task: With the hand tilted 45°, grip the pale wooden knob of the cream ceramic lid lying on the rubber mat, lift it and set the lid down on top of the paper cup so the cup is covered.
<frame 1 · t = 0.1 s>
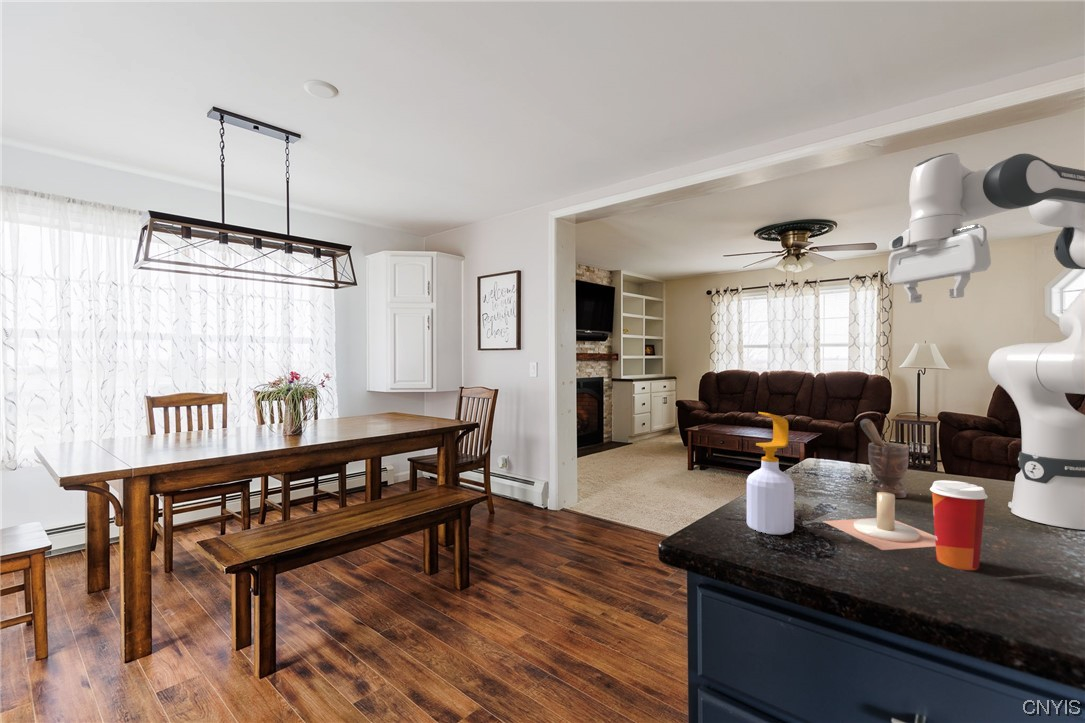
hand: (935, 300, 104), 48 cm above the counter, tool pointing down, fingers open, 8 cm apart
mortar and pestle: (884, 496, 128), on the counter
mat: (885, 534, 101), on the counter
soap bottle: (769, 528, 105), on the counter
paper cup: (956, 566, 86), on the counter
lid: (885, 532, 101), resting on mat
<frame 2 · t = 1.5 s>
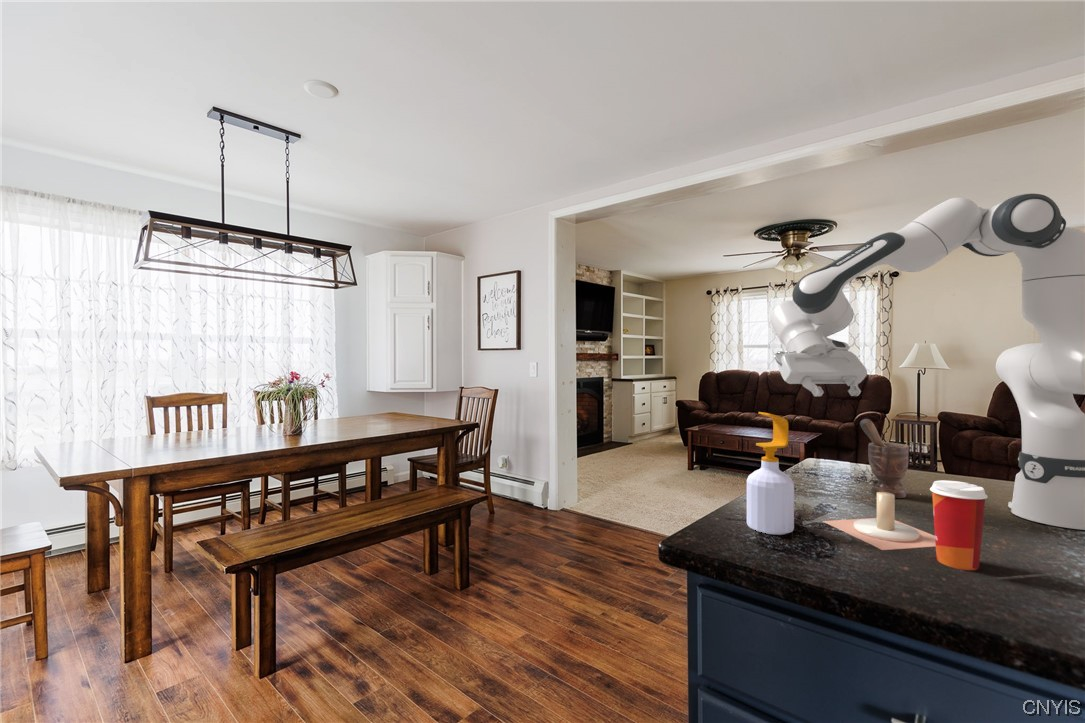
hand: (838, 394, 113), 27 cm above the counter, tool tilted 45°, fingers open, 8 cm apart
nothing on the counter moved.
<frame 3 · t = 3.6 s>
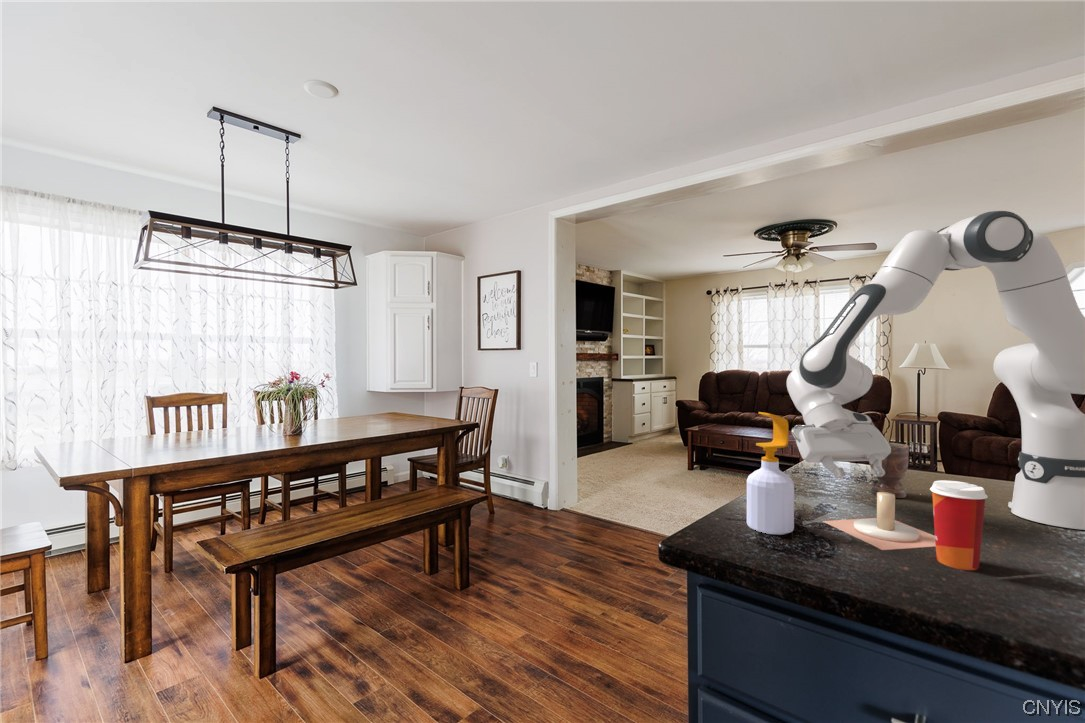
hand: (861, 476, 107), 10 cm above the counter, tool tilted 45°, fingers open, 8 cm apart
nothing on the counter moved.
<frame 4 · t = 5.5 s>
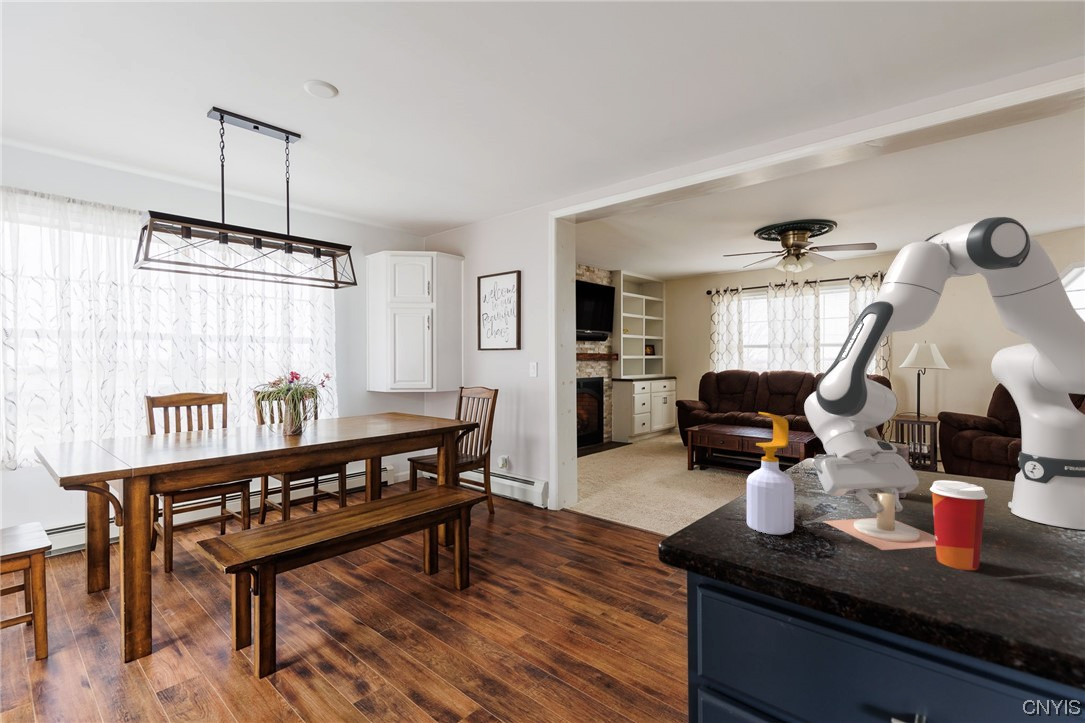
hand: (888, 511, 100), 5 cm above the counter, tool tilted 45°, fingers closed on lid, 3 cm apart
lid: (885, 532, 101), resting on mat, touching gripper
everything else where it was.
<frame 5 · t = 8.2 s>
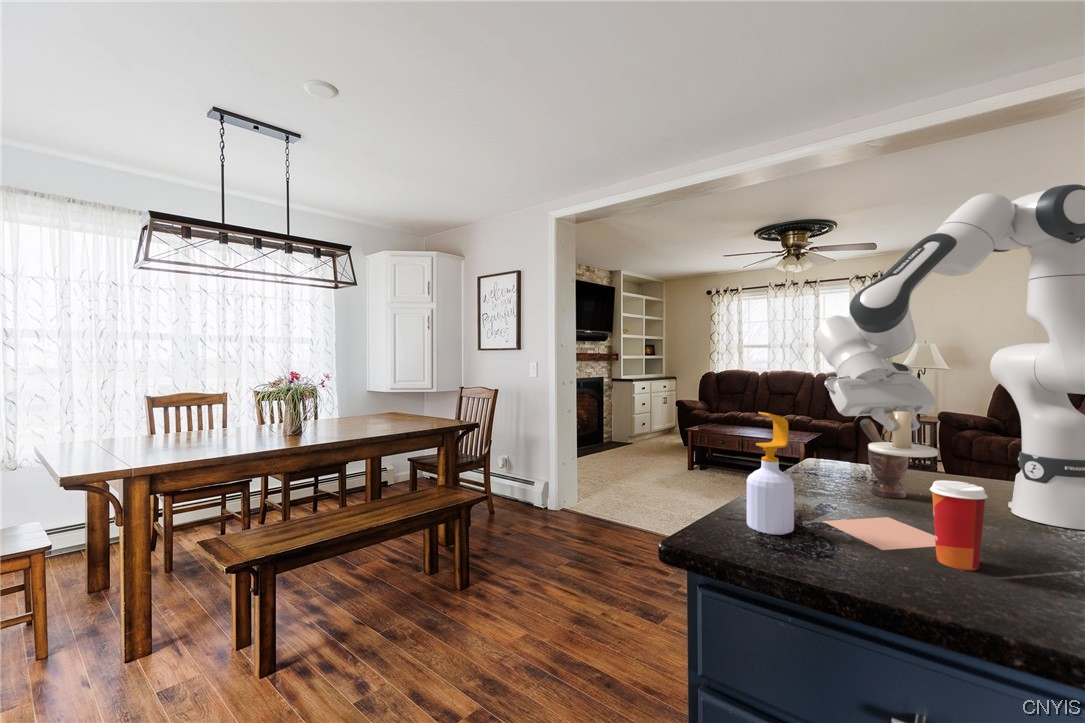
hand: (904, 429, 96), 22 cm above the counter, tool tilted 45°, fingers closed on lid, 3 cm apart
lid: (901, 451, 97), point 18 cm above the counter, touching gripper
everything else where it was.
when the fingers open (20 cm above the counter, at t = 10.7 s): lid drops 1 cm, resting on paper cup.
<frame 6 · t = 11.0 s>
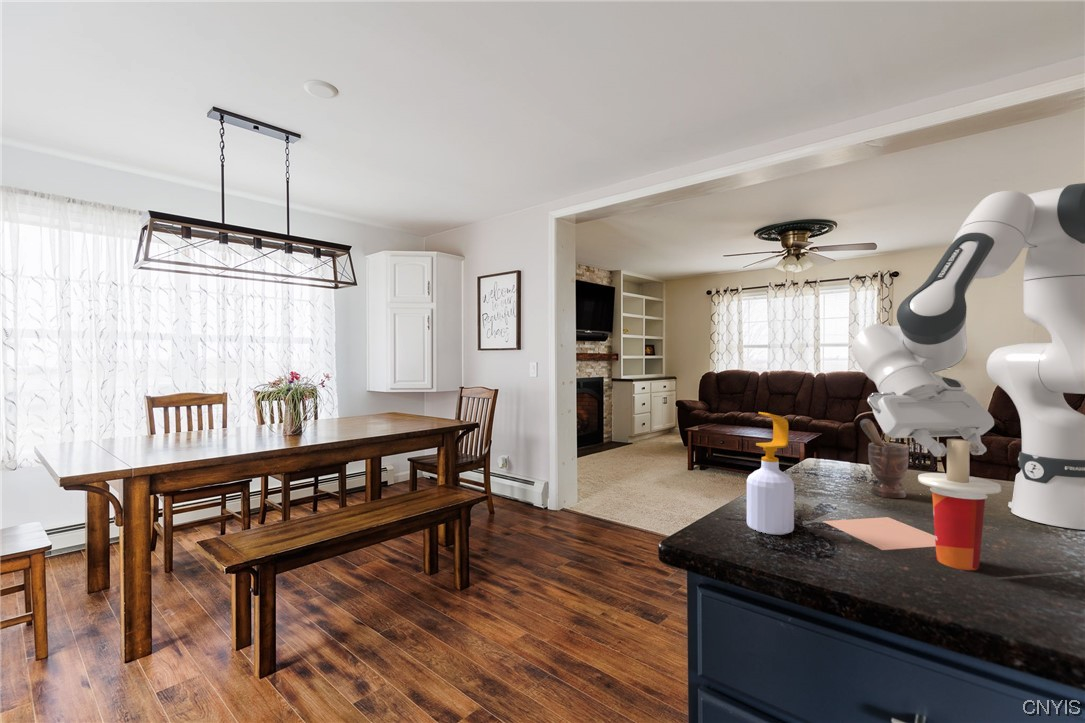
hand: (961, 453, 85), 20 cm above the counter, tool tilted 45°, fingers open, 6 cm apart
paper cup: (956, 566, 86), on the counter, touching lid
lid: (957, 485, 86), point 14 cm above the counter, touching paper cup
everything else where it was.
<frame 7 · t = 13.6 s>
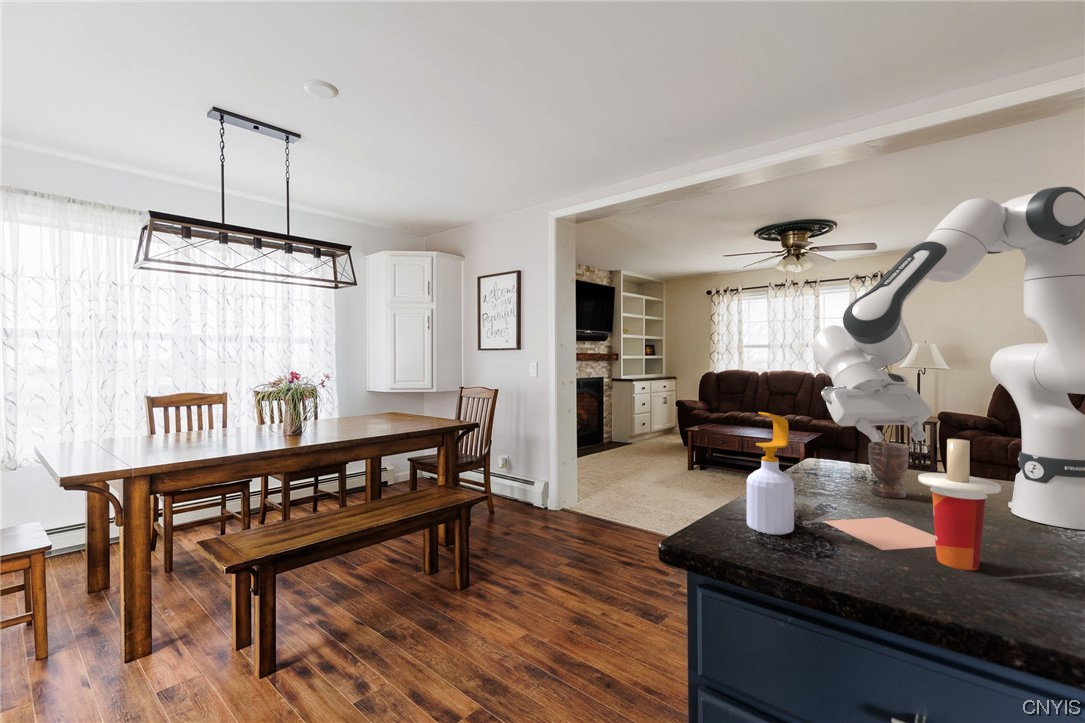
hand: (900, 439, 97), 20 cm above the counter, tool tilted 45°, fingers open, 8 cm apart
nothing on the counter moved.
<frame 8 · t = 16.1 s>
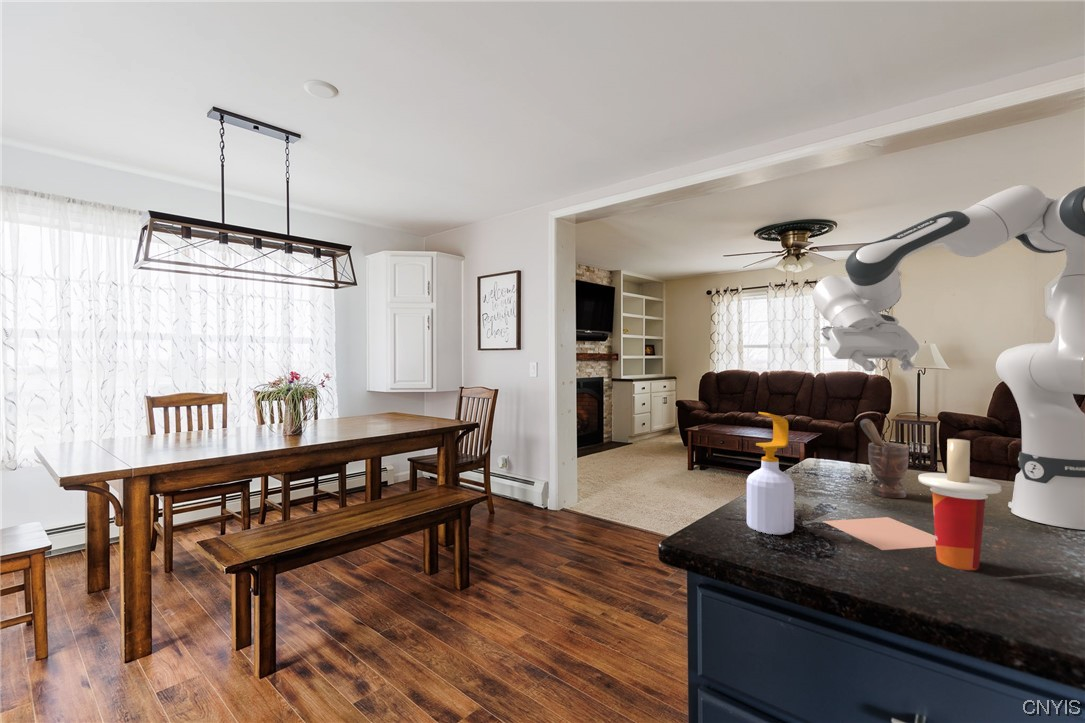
hand: (890, 369, 109), 33 cm above the counter, tool tilted 45°, fingers open, 8 cm apart
nothing on the counter moved.
at the end: lid 0.1 cm off-centre on the paper cup, point 14.2 cm above the paper cup's base; lid tilted 0°; paper cup tilted 0° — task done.
